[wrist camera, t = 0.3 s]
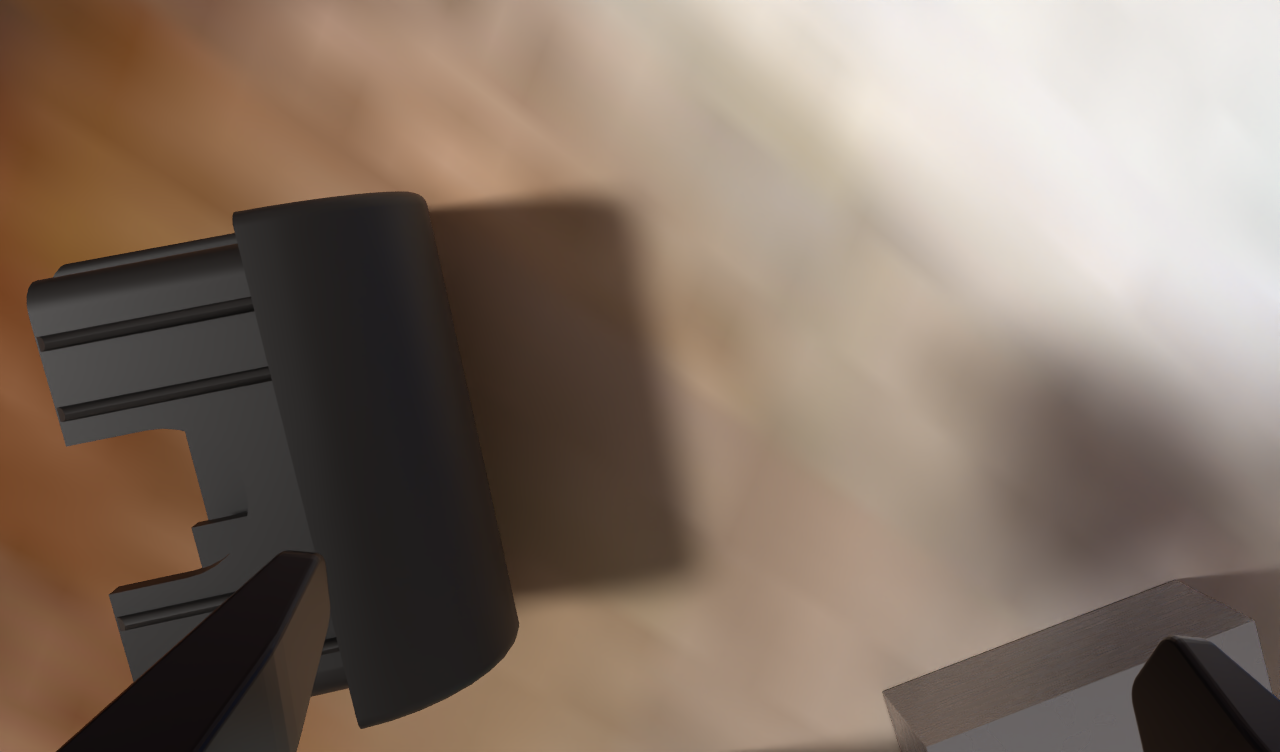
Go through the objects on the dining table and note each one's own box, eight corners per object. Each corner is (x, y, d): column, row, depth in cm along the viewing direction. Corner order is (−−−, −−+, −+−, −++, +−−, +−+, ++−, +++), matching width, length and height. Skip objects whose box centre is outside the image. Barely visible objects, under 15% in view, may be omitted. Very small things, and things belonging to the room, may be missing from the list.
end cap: (523, 579, 25) (519, 698, 18) (250, 639, 24) (144, 785, 18) (440, 199, 24) (405, 179, 17) (148, 253, 23) (-10, 254, 16)
